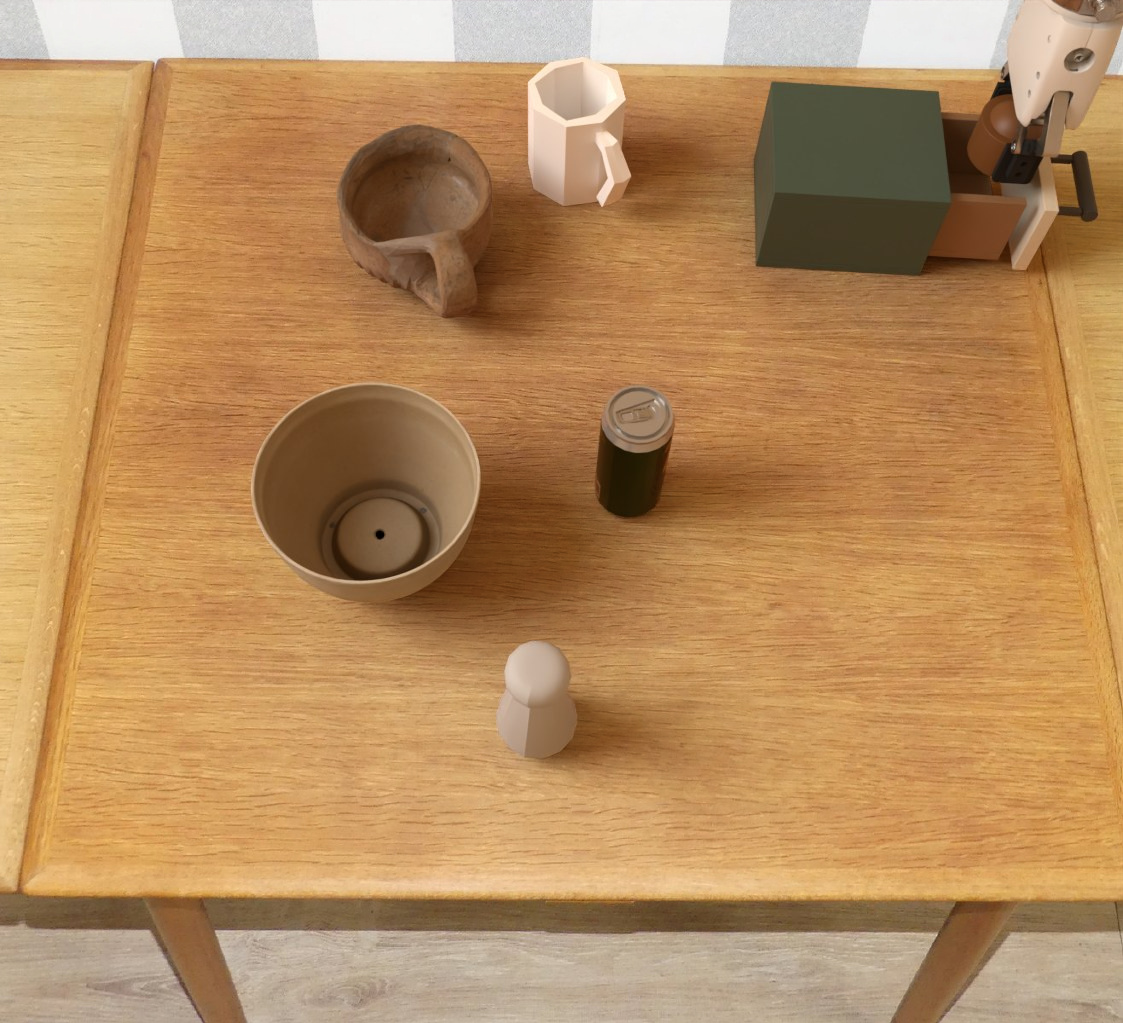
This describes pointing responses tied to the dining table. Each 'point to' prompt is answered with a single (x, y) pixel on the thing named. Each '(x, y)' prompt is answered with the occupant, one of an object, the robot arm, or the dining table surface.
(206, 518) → the dining table surface
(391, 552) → the planter bowl
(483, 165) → the brown clay cup
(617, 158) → the mug
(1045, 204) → the drawer
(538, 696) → the salt shaker
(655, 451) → the beer can
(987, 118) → the brown dome knob
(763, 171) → the cabinet
